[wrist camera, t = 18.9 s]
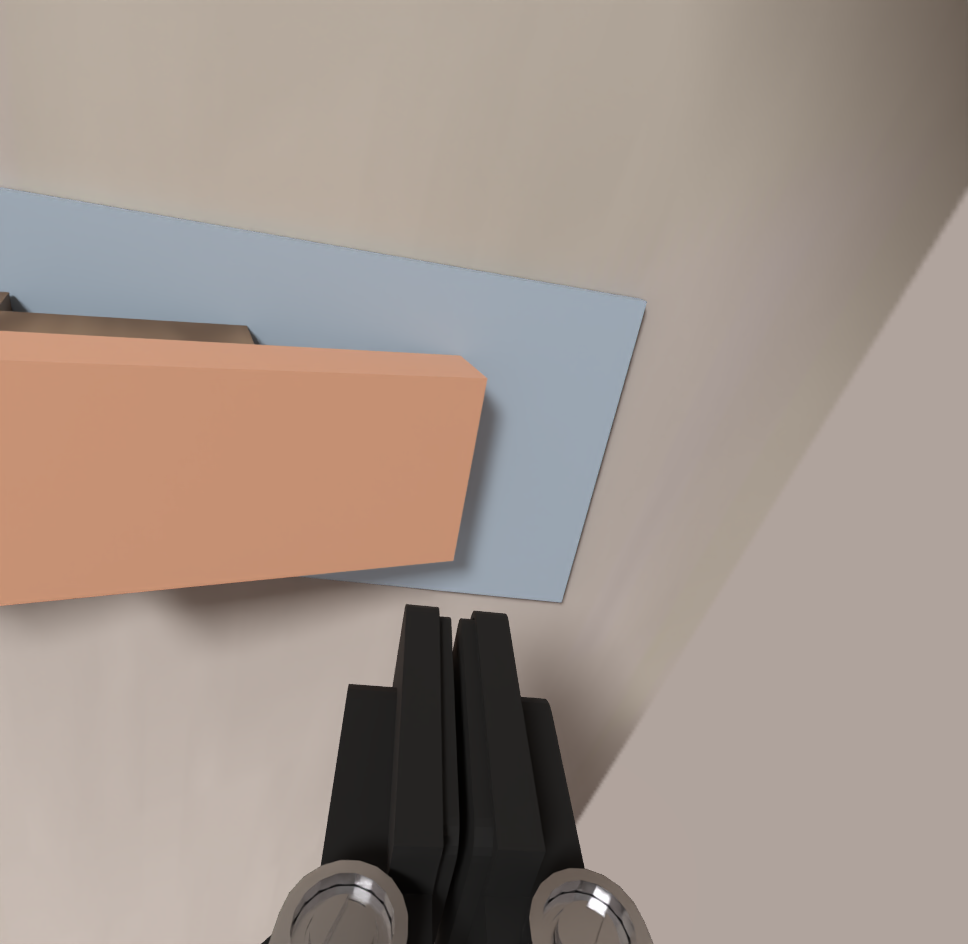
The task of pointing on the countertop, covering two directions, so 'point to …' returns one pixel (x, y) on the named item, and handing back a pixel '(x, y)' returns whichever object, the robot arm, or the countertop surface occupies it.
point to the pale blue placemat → (374, 327)
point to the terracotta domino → (223, 462)
